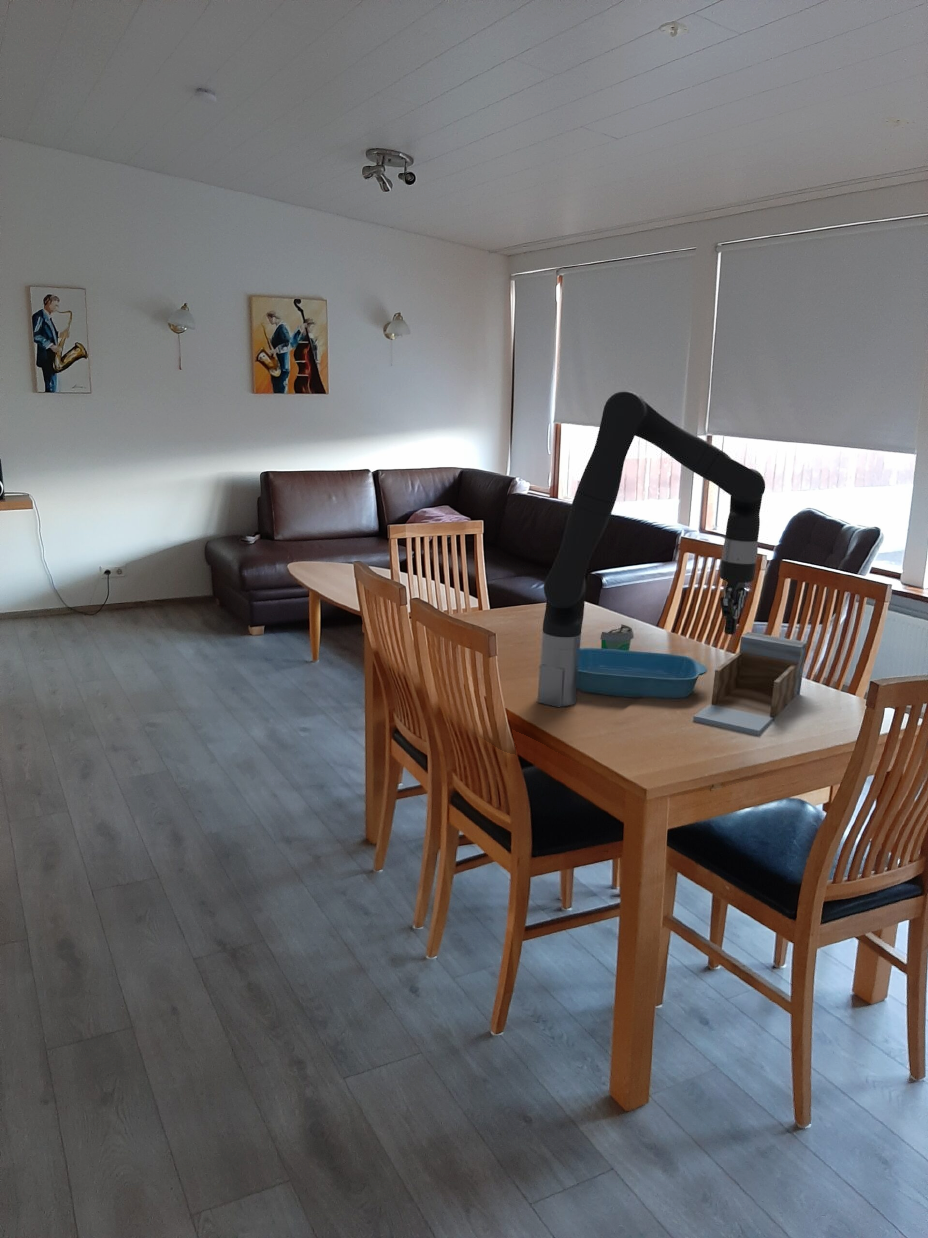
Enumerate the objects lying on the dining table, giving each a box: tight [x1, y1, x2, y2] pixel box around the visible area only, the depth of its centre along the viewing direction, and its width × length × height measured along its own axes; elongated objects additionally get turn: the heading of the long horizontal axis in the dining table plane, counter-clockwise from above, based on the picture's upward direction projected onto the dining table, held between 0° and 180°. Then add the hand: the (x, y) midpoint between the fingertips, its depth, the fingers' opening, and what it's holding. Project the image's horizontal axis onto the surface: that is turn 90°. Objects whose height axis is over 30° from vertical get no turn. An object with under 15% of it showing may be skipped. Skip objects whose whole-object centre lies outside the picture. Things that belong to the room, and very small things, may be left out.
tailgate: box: [692, 703, 776, 737], centre depth 218 cm, size 1×16×13 cm
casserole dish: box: [577, 647, 708, 699], centre depth 242 cm, size 37×22×7 cm, turn 80°
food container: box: [599, 624, 635, 651], centre depth 260 cm, size 12×6×10 cm, turn 143°
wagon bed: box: [710, 631, 808, 719], centre depth 233 cm, size 26×15×14 cm, turn 148°
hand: (729, 633), depth 215 cm, fingers closed
